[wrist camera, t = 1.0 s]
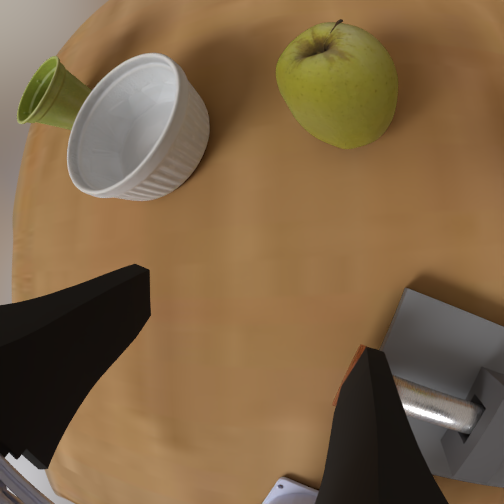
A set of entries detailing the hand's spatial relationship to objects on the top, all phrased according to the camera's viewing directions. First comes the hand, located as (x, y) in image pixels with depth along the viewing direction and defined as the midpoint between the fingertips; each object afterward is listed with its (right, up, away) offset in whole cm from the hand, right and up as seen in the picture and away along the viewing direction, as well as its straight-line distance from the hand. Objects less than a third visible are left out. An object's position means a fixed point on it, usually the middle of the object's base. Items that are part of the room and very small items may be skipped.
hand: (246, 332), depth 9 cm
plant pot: (-23, +22, +25) cm, 40 cm away
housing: (+19, -10, +6) cm, 22 cm away
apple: (+7, +13, +12) cm, 19 cm away
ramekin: (-8, +13, +19) cm, 24 cm away
